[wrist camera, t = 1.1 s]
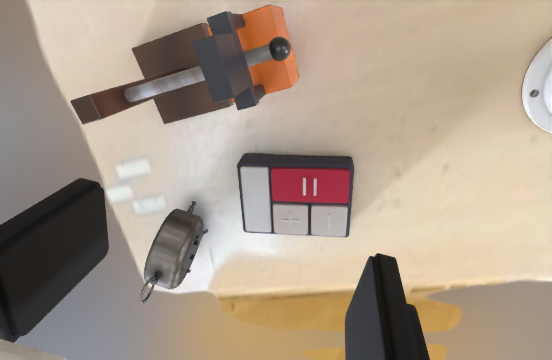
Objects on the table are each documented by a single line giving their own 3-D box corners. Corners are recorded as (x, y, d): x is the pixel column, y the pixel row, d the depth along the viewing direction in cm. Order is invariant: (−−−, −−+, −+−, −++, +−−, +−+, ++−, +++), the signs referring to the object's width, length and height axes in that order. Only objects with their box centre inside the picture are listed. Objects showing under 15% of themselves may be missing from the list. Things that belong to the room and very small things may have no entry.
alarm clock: (186, 191, 50) (123, 259, 36) (218, 204, 50) (168, 277, 35) (175, 243, 55) (115, 320, 41) (204, 254, 55) (155, 336, 41)
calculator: (349, 241, 44) (242, 235, 46) (347, 223, 48) (248, 219, 50) (355, 167, 39) (235, 165, 41) (352, 154, 43) (242, 153, 45)
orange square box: (281, 7, 32) (237, -4, 19) (299, 77, 35) (271, 111, 21) (228, 26, 34) (152, 28, 20) (248, 91, 37) (193, 131, 23)
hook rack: (297, -10, 35) (257, -38, 19) (318, 81, 39) (299, 122, 23) (138, 47, 41) (4, 63, 25) (169, 121, 45) (70, 177, 29)
